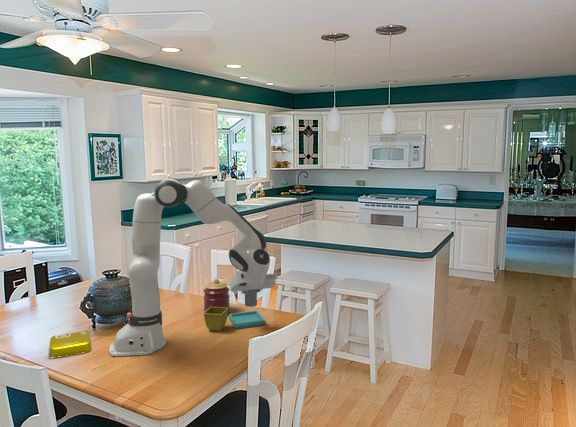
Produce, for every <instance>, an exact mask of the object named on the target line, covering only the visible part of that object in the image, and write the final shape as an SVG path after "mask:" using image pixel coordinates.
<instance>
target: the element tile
mask: <svg viewBox="0 0 576 427" xmlns="http://www.w3.org/2000/svg"><path fill="white" fill-rule="evenodd" d="M49 340H50V341H49V345H48V346H49V347H48V349H49V350H48V351H49V358H50V357H58V356H65V355H71V354H76V353H82V352H87V351H89V352H91V351H92V348H91V347H92V344H91V332H90V331H88V330H84V331H83V330H82V331H78V332H77V331H76V332H72V333H65V334H59V335H58V334H57V335H52V336H51V337H50V338H49ZM90 350H91V351H90ZM87 353H88V352H87ZM82 354H83V353H82ZM76 355H77V354H76ZM71 356H72V355H71ZM65 357H66V356H65Z"/></svg>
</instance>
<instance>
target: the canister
mask: <svg viewBox="0 0 576 427" xmlns="http://www.w3.org/2000/svg"><path fill="white" fill-rule="evenodd" d="M228 285H229V284H227V282H225V281H222V280H219V278H214V279H213V280H212V281H209V282H207V283H206V284H205V285H204V289H203V294H204V296H203V306H204V308H203V313H204V312H206V311H207V310H208V309H209V308H210V307H223V308H228V314H230V310H231V306H230V297H231V296H230V294H229V291H230V287H228Z"/></svg>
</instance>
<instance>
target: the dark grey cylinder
mask: <svg viewBox="0 0 576 427" xmlns="http://www.w3.org/2000/svg"><path fill="white" fill-rule="evenodd" d="M244 306H245V307H251V308H252V307H256V306H258V292H257V289H256V290H245V294H244Z"/></svg>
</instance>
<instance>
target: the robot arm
mask: <svg viewBox="0 0 576 427" xmlns="http://www.w3.org/2000/svg"><path fill="white" fill-rule="evenodd" d="M181 204H186V205H187V206H188V207H189V208H190V210H191V211H192V212H193V214H195V216H196V217H197V219H198V220H199V221H201V222H202V223H203V224H207V225H213V224H214V225H215V224H218V223H222V222H229V223H231V224H233V226H234V227H236V229H238V230H239V231H240V232H241V234H242V235H243V238H242V239H240V240H239V241H238V242H237V243H236V244H235V245H233V247H231V248H230V249H229V250H228V258H229V262H230V263H231V265H232V267H234V268H235V269H237V270H236V271H234V275H233V276H232V277H231V279H230V281H229V291H230V292H233V293H234V292H240V293H241V295H245V290H256V289H257V293H261V291H263V290H265V289H273V288H275V286H276V280H277V279H278V274H275V273H268V271H269V269H270V264H271V257H270V254H269V253H268V251H267V250H266V248H267V240H266V237H265V235H264V234H263V233H262V232H261V231H259V230H258V229H257V228H255V227H254V225H252V224H251V223H250V222H249V221H248V220H247V219H246V218H245V217H244V216H243V215H242V214H241V213H240V212H239V211H238V210H237V209H236V208H235V207H233V206H232V205H230V204H226V203H223V202H222V201H220V199H218V198H217V196H216V195H215V194H214V193H213V192H212V190H211V189H210V188H209V187H208V186H207V185H206V184H204V183H203V182H202V181H201V180H197V179H196V180H195V179H194V180H192V181H189V182H188V183H186V184H184V183H182V182H181V181H180V180H179V179H177V178H172V177H169V178H164V179H162V180H161V181H159V183H158V184H157V185H156V187H155V188H154V191H153V192H152V193H151V192H149V193H142V194H139V195H138V196H137V197H136V200H135V203H134V207H133V212H132V213H133V214H132V225H131V226H132V228H131V246H132V249H131V250H132V258H131V261H130V262H131V263H130V264H129V266H128V269H127V270H128V271H127V275H128V282H129V287H130V294H131V304H132V305H131V307H132V312H127V314H126V319H127V323H126V325H124V326H123V327H122V328H121V329H119V330H118V331H117V332H116V335H115V337H114V341H113V342H112V343H111V344H110V345H109V346H108V347H109V349H108V353H109V355H110V356H111V357H113V356H115V357H129V356H144V355H151V354H154V353H155V352H156V351H158V350H160V349H162V348H164V347H165V346H166V344H167V341H166V338H165V335H164V331H163V312H162V309H161V294H160V286H159V278H158V277H159V276H158V274H159V268H160V261H161V260H160V258H161V230H162V213H163V209H164V208H165V207H166V208H172V207H175V206H179V205H181ZM115 357H114V358H115Z"/></svg>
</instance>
